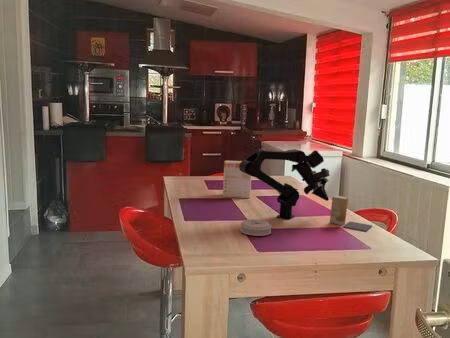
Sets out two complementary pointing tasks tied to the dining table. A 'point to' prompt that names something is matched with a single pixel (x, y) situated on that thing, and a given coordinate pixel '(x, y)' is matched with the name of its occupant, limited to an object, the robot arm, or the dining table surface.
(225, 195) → the coffeecake box
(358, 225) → the pad
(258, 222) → the lid
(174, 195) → the dining table surface
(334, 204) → the skincare box
